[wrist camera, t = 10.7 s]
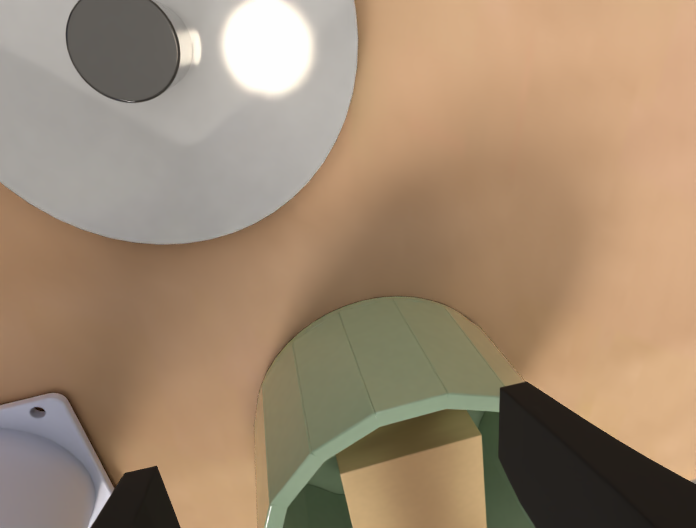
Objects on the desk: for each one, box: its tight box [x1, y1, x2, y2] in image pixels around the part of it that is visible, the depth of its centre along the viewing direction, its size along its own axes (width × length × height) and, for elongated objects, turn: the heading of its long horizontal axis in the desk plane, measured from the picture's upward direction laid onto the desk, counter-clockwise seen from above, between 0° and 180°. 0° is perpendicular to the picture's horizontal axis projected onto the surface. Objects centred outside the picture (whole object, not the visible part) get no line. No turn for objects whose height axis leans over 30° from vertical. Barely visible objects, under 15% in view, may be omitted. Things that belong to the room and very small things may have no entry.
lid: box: [0, 0, 358, 245], centre depth 13 cm, size 12×12×4 cm
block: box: [336, 409, 487, 528], centre depth 20 cm, size 5×5×5 cm
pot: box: [254, 296, 535, 528], centre depth 20 cm, size 11×11×6 cm
